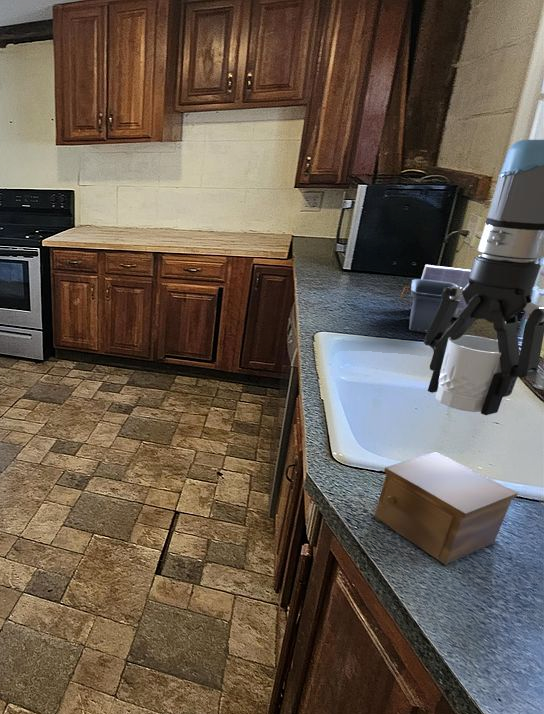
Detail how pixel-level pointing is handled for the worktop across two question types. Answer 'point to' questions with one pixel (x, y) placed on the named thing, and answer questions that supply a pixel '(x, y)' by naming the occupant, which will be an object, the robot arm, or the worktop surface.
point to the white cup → (468, 372)
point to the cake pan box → (448, 280)
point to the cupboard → (442, 506)
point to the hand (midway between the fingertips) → (460, 401)
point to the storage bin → (425, 302)
